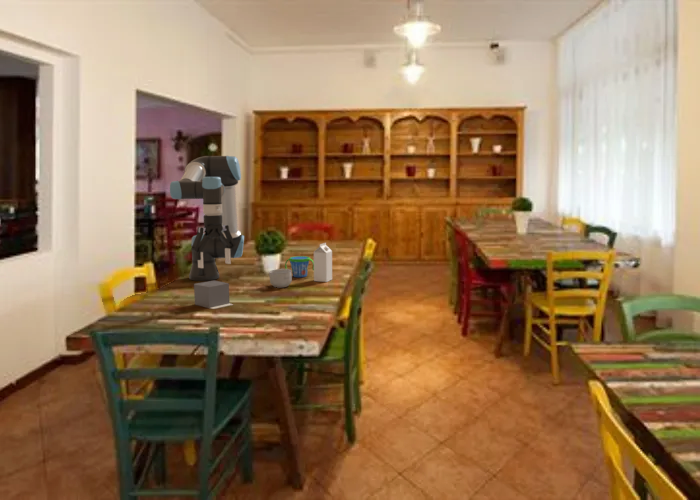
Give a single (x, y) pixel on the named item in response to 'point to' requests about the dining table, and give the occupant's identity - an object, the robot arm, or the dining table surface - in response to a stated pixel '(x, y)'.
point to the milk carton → (323, 263)
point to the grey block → (211, 294)
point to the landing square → (221, 306)
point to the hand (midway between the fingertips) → (214, 265)
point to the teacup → (280, 277)
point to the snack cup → (299, 265)
